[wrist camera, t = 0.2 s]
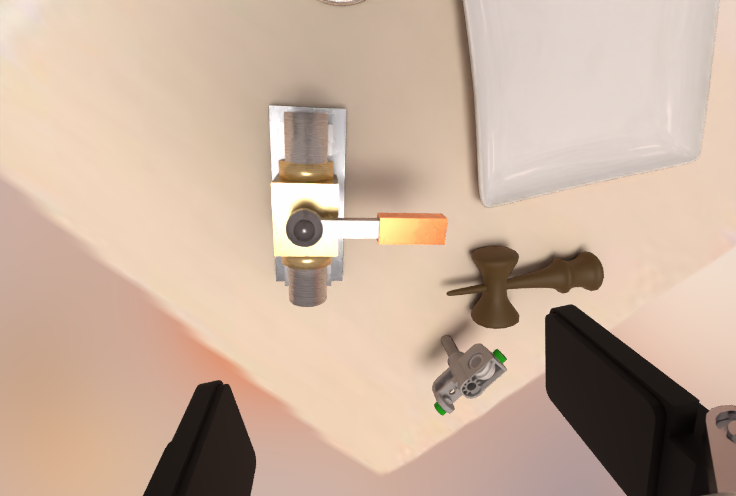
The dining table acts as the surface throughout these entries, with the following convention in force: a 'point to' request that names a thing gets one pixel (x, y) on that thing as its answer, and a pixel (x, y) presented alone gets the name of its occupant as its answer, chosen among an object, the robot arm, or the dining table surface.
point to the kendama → (523, 282)
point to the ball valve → (307, 195)
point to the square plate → (586, 90)
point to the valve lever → (367, 228)
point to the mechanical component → (466, 374)
